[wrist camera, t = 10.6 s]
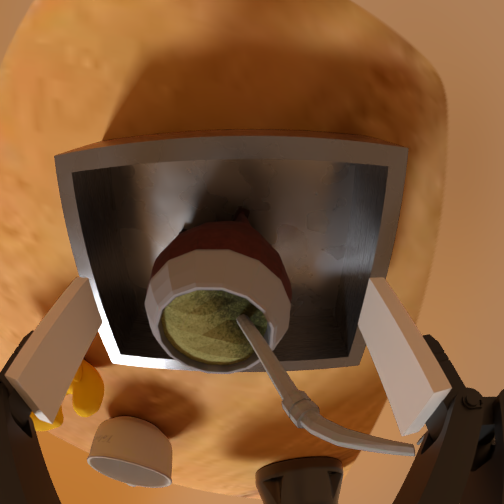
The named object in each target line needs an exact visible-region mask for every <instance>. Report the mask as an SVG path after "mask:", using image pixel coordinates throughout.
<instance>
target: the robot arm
mask: <svg viewBox="0 0 504 504" xmlns="http://www.w3.org/2000/svg"><path fill="white" fill-rule="evenodd" d="M102 323H103V321H102V318H101V315H100V312H99V310H98V307H97V304H96V301H95V298H94V295H93V291H92V288H91V285H90V282H89V278H85V277H76V278H75V279H74V280H73V281H72V283H71V284H70V285H69V286H68V287H67V289H66V290H65V291H64V292H63V294H62V295H61V296H60V297H59V299H58V300H57V301H56V302H55V304H54V305H53V306H52V308H51V309H50V310H49V311H48V313H47V314H46V315H45V317H44V318H43V319H42V321H41V322H40V323H39V325H38V326H37V327H36V329H35V330H34V331H33V330H32V331H31V332H30V333H29V334H27V335H26V336H25V337H24V338H23V340H22V341H21V342H20V344H19V347H17V348H16V350H15V351H14V353H13V354H12V355H11V357H10V358H9V360H8V361H7V363H6V365H5V366H4V368H3V369H2V371H1V372H0V504H61V502H60V500H59V497H58V495H57V493H56V490H55V488H54V486H53V483H52V480H51V478H50V475H49V472H48V470H47V467H46V464H45V461H44V458H43V455H42V452H41V448H40V446H39V442H38V438H37V435H36V431H35V427H34V423H33V420H32V418H31V417H30V414H31V412H33V413H34V414H35V415H36V416H37V417H38V419H40V420H42V421H45V422H48V423H50V424H53V422H54V419H55V417H56V415H57V413H58V410H59V408H60V406H61V404H62V401H63V399H64V397H65V395H66V393H67V391H68V389H69V386H70V384H71V382H72V380H73V378H74V376H75V374H76V372H77V370H78V368H79V366H80V364H81V362H82V360H83V358H84V356H85V354H86V352H87V351H88V349H89V347H90V345H91V343H92V341H93V339H94V337H95V336H96V334H97V332H98V330H99V328H100V327H101V325H102ZM358 326H359V329H360V331H361V333H362V335H363V338H364V340H365V343H366V345H367V347H368V350H369V352H370V354H371V357H372V359H373V362H374V364H375V367H376V369H377V372H378V374H379V377H380V379H381V382H382V384H383V387H384V390H385V392H386V395H387V397H388V400H389V403H390V405H391V408H392V411H393V413H394V416H395V419H396V422H397V425H398V427H399V430H400V433H401V436H405V435H408V434H412V433H416V432H418V431H419V430H420V429H421V428H422V427H423V426H424V424H426V426H427V429H428V431H427V432H426V433H425V434H424V435H423V436H422V438H420V440H419V441H418V442H417V444H418V445H419V444H420V443H421V442H422V443H421V446H420V448H419V450H418V453H417V455H416V457H415V460H414V462H413V464H412V466H411V468H410V471H409V473H408V475H407V477H406V479H405V481H404V483H403V485H402V487H401V489H400V491H399V493H398V494H397V496H396V498H395V500H394V502H393V503H392V504H459V503H460V504H504V389H503V390H502V391H501V392H500V394H499V395H498V396H497V397H482V395H481V394H480V393H479V392H478V391H476V390H475V389H472V388H466V387H465V385H464V384H463V382H462V380H461V379H460V377H459V375H458V373H457V372H456V370H455V368H454V366H453V365H452V363H451V362H450V360H448V356H447V355H446V354H445V353H444V350H443V349H442V347H441V345H440V344H439V342H438V341H437V340H435V339H434V338H433V337H432V336H431V335H423V336H422V335H421V333H420V331H419V330H418V328H417V326H416V325H415V323H414V322H413V320H412V319H411V317H410V315H409V314H408V312H407V311H406V309H405V308H404V306H403V305H402V303H401V302H400V300H399V299H398V297H397V296H396V294H395V293H394V291H393V290H392V288H391V287H390V285H389V284H388V283H387V281H386V280H385V278H384V277H378V278H369V281H368V286H367V290H366V294H365V298H364V302H363V306H362V310H361V314H360V317H359V321H358ZM342 479H343V468H342V463H341V461H339V460H338V459H334V458H328V457H311V458H301V459H293V460H287V461H283V462H278V463H274V464H271V465H268V466H266V467H263V468H261V469H260V470H258V471H257V472H256V487H257V489H258V491H259V494H260V496H261V499H262V501H263V503H264V504H338V498H339V494H340V489H341V484H342Z"/></svg>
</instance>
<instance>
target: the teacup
mask: <svg viewBox="0 0 504 504" xmlns="http://www.w3.org/2000/svg"><path fill="white" fill-rule="evenodd" d="M87 462H88V464H89V465H90V466H91V467H92V468H94V469H95V470H97V471H98V472H100V473H102V474H104V475H106V476H108V477H110V478H113V479H115V480H118V481H121V482H124V483H127V484H128V485H129V486H133V487H135V486H143V487H151V488H158V487H166V486H169V485H171V484H172V479H171V472H172V447H171V443H170V441H169V440H168V438H167V437H166V436H165V435H164V434H163V433H162V432H161V431H160V430H159V429H158V428H157V427H156V426H154V425H153V424H151V423H149V422H147V421H145V420H142V419H139V418H135V417H130V416H119V417H115V418H112V419H108V420H106V421H104V422H103V423H101V424H100V426H99V427H98V429H97V431H96V433H95V436H94V439H93V443H92V446H91V450H90V454H89V456H88V458H87Z"/></svg>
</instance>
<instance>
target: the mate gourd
mask: <svg viewBox="0 0 504 504" xmlns="http://www.w3.org/2000/svg"><path fill="white" fill-rule="evenodd" d="M249 213H250V210H249V209H248V208H245V207H243V206H238V207H237V209H236V211H235V213H234V216H233V218H232V220H231V221H218V222H206V223H204V224H201V225H199V226H196V227H194V228H191V229H189V230H188V229H184V228H183V229H182V231H180V232H179V235H178V236H177V237H176V238H175V239H174V240H173V241H172V242H171V243H170V244H169V245H168V246H167V247H166V248H165V249H164V250H163V251H162V252H161V253H160V254H159V256H158V257H157V258H156V260H155V263H154V265H153V268H152V272H151V276H150V279H149V283H148V287H147V291H146V299H145V308H146V312H147V316H148V320H149V324H150V328H151V330H152V333H153V335H154V337H155V338H156V340H157V341H158V342H159V344H160V345H161V346H162V347H163V349H164V350H165V351H166V352H167V354H168V355H169V356H170V357H172V358H173V359H175V360H177V361H178V362H180V363H181V364H183V365H184V366H186V367H189V368H192V369H195V370H198V371H202V372H205V373H216V374H230V373H234V372H238V371H243V370H246V369H250V368H251V367H253V366H254V365H256V364H258V363H259V362H261V363H262V365H263V367H264V368H265V370H266V372H267V374H268V375H269V377H270V379H271V380H272V382H273V384H274V386H275V388H276V389H277V391H278V393H279V395H280V396H281V398H282V400H283V401H282V407H283V409H284V411H285V412H286V414H287V415H288V416H289V418H291V420H292V422H293V423H294V424H295V425H296V426H297V427H298V428H305V429H306V430H307V431H308V432H310V433H311V434H313V435H315V436H317V437H319V438H321V439H323V440H325V441H327V442H330V443H332V444H334V445H336V446H340V447H346V448H351V449H357V450H363V451H370V452H377V453H385V454H393V455H405V456H415V449H414V445H413V444H408V443H402V442H397V441H392V440H387V439H383V438H379V437H375V436H371V435H367V434H364V433H360V432H357V431H353V430H350V429H347V428H344V427H342V426H340V425H338V424H336V423H334V422H332V421H330V420H328V419H325V418H324V417H323V416H321V415H320V414H319V407H318V406H317V405H316V404H315V403H314V402H313V401H311V399H310V398H309V397H308V396H307V394H306V393H305V392H303V391H300V390H298V389H297V388H296V386H295V385H294V383H293V382H292V380H291V379H290V377H289V375H288V374H287V372H286V371H285V369H284V368H283V366H282V365H281V363H280V362H279V360H278V359H277V357H276V356H275V354H274V353H273V350H274V349H275V347H276V346H277V344H278V343H279V342H280V340H281V339H282V337H283V336H284V334H285V333H286V331H287V330H288V327H289V318H290V309H291V299H292V288H291V283H290V280H289V278H288V275H287V272H286V270H285V267H284V265H283V262H282V260H281V257H280V255H279V253H278V252H277V251H276V250H275V249H274V248H273V247H272V246H271V245H270V243H269V242H268V241H267V240H266V239H265V238H264V237H263V236H262V235H261V234H260V233H259V232H258V231H257V230H256V229H254V228H253V227H252V226H251V225H250V223H249V221H248V216H249Z"/></svg>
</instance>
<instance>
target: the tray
mask: <svg viewBox="0 0 504 504" xmlns="http://www.w3.org/2000/svg"><path fill="white" fill-rule="evenodd" d="M54 158H55V166H56V173H57V180H58V186H59V192H60V198H61V203H62V208H63V213H64V218H65V223H66V227H67V231H68V236H69V240H70V244H71V248H72V252H73V255H74V259H75V262H76V266H77V269H78V273H79V276H80V277H85V278H89V282H90V285H91V288H92V291H93V295H94V298H95V301H96V304H97V307H98V310H99V312H100V315H101V318H102V321H103V323H102V325H101V327H100V328H99V330H98V331H99V333H100V336H101V338H102V341H103V343H104V345H105V348H106V350H107V352H108V355H109V357H110V359H111V362H112V363H116V364H124V365H132V366H141V367H151V368H162V369H175V370H191V371H198V370H195V369H192V368H189V367H186V366H184V365H183V364H181V363H180V362H178V361H177V360H175V359H173V358H172V357H170V356H169V355H168V354H167V352H166V351H165V350H164V349H163V347H162V346H161V345H160V344H159V342H158V341H157V340H156V338H155V337H154V335H153V333H152V330H151V328H150V324H149V320H148V316H147V312H146V308H145V299H146V291H147V287H148V283H149V279H150V276H151V272H152V268H153V265H154V263H155V260H156V258H157V257H158V256H159V254H160V253H161V252H162V251H163V250H164V249H165V248H166V247H167V246H168V245H169V244H170V243H171V242H172V241H173V240H174V239H175V238H176V237H177V236H178V235H179V232H180V231H182V229H183V228H184V229H188V230H189V229H191V228H194V227H196V226H199V225H201V224H204V223H206V222H218V221H231V220H232V218H233V216H234V213H235V211H236V209H237V207H238V206H243V207H245V208H248V209H249V210H250V213H249V216H248V221H249V223H250V225H251V226H252V227H253V228H254V229H256V230H257V231H258V232H259V233H260V234H261V235H262V236H263V237H264V238H265V239H266V240H267V241H268V242H269V243H270V245H271V246H272V247H273V248H274V249H275V250H276V251H277V252H278V253H279V255H280V257H281V260H282V262H283V265H284V267H285V270H286V272H287V275H288V278H289V280H290V283H291V288H292V299H291V309H290V318H289V327H288V330H287V331H286V333H285V334H284V336H283V337H282V339H281V340H280V342H279V343H278V344H277V346H276V347H275V349H274V350H273V353H274V354H275V356H276V357H277V359H278V360H279V362H280V363H281V365H282V366H283V368H284V369H285V371H298V370H314V369H327V368H338V367H348V366H357V365H359V364H360V361H361V358H362V355H363V353H364V350H365V347H366V343H365V340H364V338H363V335H362V333H361V331H360V329H359V326H358V321H359V317H360V314H361V310H362V306H363V302H364V298H365V294H366V290H367V286H368V281H369V278H378V277H384V278H385V280H386V276H387V272H388V267H389V263H390V259H391V255H392V250H393V245H394V241H395V236H396V231H397V226H398V220H399V215H400V209H401V203H402V196H403V190H404V183H405V175H406V167H407V158H408V148H407V147H403V146H400V145H397V144H393V143H390V142H386V141H383V140H379V139H376V138H372V137H368V136H362V135H353V134H343V133H331V132H318V131H301V130H274V129H229V130H202V131H185V132H172V133H161V134H151V135H142V136H134V137H126V138H119V139H112V140H105V141H100V142H97V143H93V144H90V145H86V146H83V147H80V148H76V149H73V150H70V151H67V152H64V153H61V154H58V155H55V156H54ZM238 372H266V370H265V368H264V367H263V365H262V363H261V362H259V363H258V364H256V365H254V366H253V367H251V368H250V369H246V370H243V371H238Z"/></svg>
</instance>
